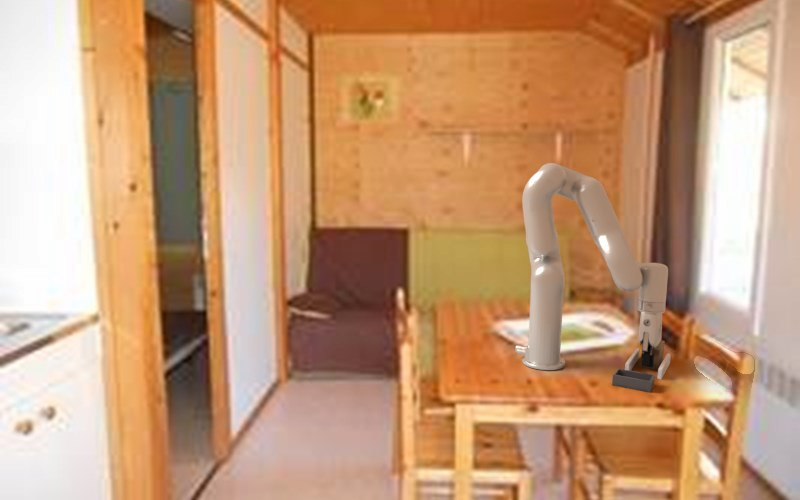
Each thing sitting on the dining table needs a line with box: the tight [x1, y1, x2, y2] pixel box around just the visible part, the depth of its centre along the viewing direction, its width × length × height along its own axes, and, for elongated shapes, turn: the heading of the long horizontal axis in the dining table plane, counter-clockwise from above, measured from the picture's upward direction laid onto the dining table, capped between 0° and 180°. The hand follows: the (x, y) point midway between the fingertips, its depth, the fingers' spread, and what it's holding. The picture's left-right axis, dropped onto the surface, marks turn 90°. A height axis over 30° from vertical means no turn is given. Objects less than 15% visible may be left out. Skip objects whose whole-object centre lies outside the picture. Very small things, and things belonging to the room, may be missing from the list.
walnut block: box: [640, 340, 665, 370], centre depth 199 cm, size 5×10×6 cm, turn 151°
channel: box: [624, 347, 672, 381], centre depth 195 cm, size 10×16×3 cm, turn 150°
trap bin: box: [611, 368, 656, 393], centre depth 182 cm, size 10×6×3 cm, turn 60°
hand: (646, 366), depth 193 cm, fingers closed
